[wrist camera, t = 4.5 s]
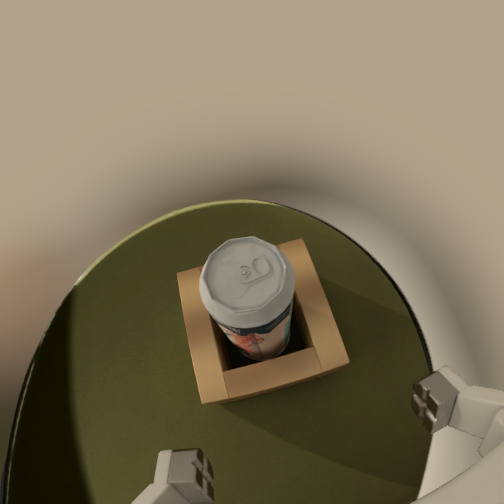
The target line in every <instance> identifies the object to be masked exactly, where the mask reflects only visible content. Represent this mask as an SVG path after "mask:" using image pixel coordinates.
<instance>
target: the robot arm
mask: <svg viewBox="0 0 504 504" xmlns="http://www.w3.org/2000/svg"><path fill="white" fill-rule="evenodd" d="M413 390H414V391H415V393H414V394H413V396H412V400H411V404H412V408H413V411H414V413H415V414H416V415H417V417H419V418H423V419H424V420H423V425H424V426H425V427H426V429H427V430H428V431H429V433H430V434H433V433H435V432H437V431H438V430H440V429H442V428H443V427H445V426H447V425H448V426H450V427H453V428H455V429H458V430H460V431H463V432H466V433H468V434H471V435H473V436H476V437H479V438H482V439H483V441H482V443H481V445H480V447H479V449H478V452H479V454H480V455H481V456H482V459H481V460H479V461H478V462H476V463H475V464H474V465H473V466H471V467H470V468H468V469H467V470H465V471H464V472H463V473H461V474H459V475H458V476H456V477H455V478H453V479H452V480H450V481H449V482H447V483H446V484H444V485H442V486H441V487H439V488H437V489H436V490H434V491H432V492H430V493H429V494H427V495H425V496H423V497H422V498H420V499H418V500H416V501H414V502H412V503H410V504H504V391H503V390H497V389H491V388H487V387H482V386H477V385H472V386H469V385H468V384H467V383H466V382H465V381H464V380H463V379H462V378H461V377H460V376H459V375H458V374H456V373H455V372H454V371H453V370H452V369H451V368H450V367H449V366H444V367H442V368H440V369H438V370H437V371H434V372H432V373H431V374H429V375H427V376H425V377H423V378H421V379H420V380H418V381H416V382H415V383H414V384H413ZM213 480H214V476H213V469H212V466H211V463H210V461H209V460H208V459H207V458H205V457H203V451H202V450H201V449H200V448H192V449H179V450H164V451H160V453H159V455H158V460H157V466H156V472H155V479H154V484H150V485H149V486H148V487H147V488H146V489H145V490H144V491H143V492H142V493H141V494H140V495H139V496H138V497H137V498H136V499H135V500H134V501H133V502H132V503H131V504H204V503H213V502H214V489H213V487H212V486H211V485H210V484H211V482H212V481H213Z"/></svg>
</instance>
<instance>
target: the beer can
mask: <svg viewBox="0 0 504 504" xmlns="http://www.w3.org/2000/svg"><path fill="white" fill-rule="evenodd" d="M294 289H295V273H294V269H293V267H292V265H291V262H290V261H289V259H288V258H287V257H286V255H285V254H284V253H283V252H282V251H281V250H280V249H279V248H277V247H276V246H274V245H272V244H270V243H267V242H265V241H263V240H261V239H258V238H256V237H254V236H250V237H243V238H236V239H229V240H227V241H226V242H225V243H223V244H222V245H221V246H220V247H218V248H217V249H216V250H215V251H214V252H212V253H211V254H210V255H209V257H208V260H207V261H206V263H205V265H204V267H203V270H202V273H201V276H200V280H199V291H200V295H201V299H202V301H203V303H204V305H205V307H206V309H207V310H208V312H209V313H210V314H211V316H212V317H213V318H214V320H215V321H216V322H217V324H218V325H219V326H220V328H221V329H222V330H223V331H224V333H225V334H226V335H227V337H228V338H229V339H230V340H231V342H232V343H233V344H234V346H235V347H236V348H237V349H238V351H239V352H240V353H242V354H243V355H244V356H246V357H248V358H250V359H253V360H259V361H263V360H269V359H272V358H274V357H276V356H278V355H279V354H280V353H281V352H282V351H283V350H284V349H285V348H286V346H287V345H288V342H289V338H290V326H291V315H292V304H293V293H294Z"/></svg>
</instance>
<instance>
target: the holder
mask: <svg viewBox="0 0 504 504" xmlns="http://www.w3.org/2000/svg"><path fill="white" fill-rule="evenodd" d="M276 247H277V248H279V249H280V250H281V251H282V252H283V253H284V254H285V255H286V257H287V258H288V259H289V261H290V262H291V265H292V267H293V269H294V273H295V289H294V293H293V304H292V310H293V313H294V316H295V319H296V322H297V325H298V328H299V331H300V334H301V337H302V340H303V343H304V346H305V349H303V350H300V351H297V352H294V353H290V354H287V355H284V356H280V357H277V358H274V359H270V360H266V361H263V362H259V363H256V364H252V365H248V366H244V367H240V368H236V369H232V366H231V362H230V358H229V354H228V350H227V346H226V342H225V337H224V333H223V330H222V329H221V328H220V326H219V325H218V324H217V322H216V321H215V320H214V318H213V317H212V316H211V314H210V313H209V312H208V310H207V309H206V307H205V305H204V303H203V301H202V299H201V295H200V291H199V280H200V276H201V273H202V270H203V267H204V266H201V267H197V268H194V269H190V270H187V271H183V272H179V273H177V278H178V284H179V290H180V297H181V303H182V309H183V314H184V320H185V326H186V331H187V336H188V341H189V347H190V352H191V356H192V361H193V366H194V371H195V375H196V380H197V384H198V389H199V393H200V397H201V401H202V404H218V405H219V404H224V403H228V402H233V401H237V400H242V399H246V398H250V397H254V396H258V395H262V394H265V393H269V392H273V391H276V390H280V389H283V388H287V387H290V386H294V385H297V384H300V383H303V382H306V381H309V380H313V379H315V378H319V377H321V376H324V375H327V374H330V373H333V372H336V371H338V370H339V369H341V368H342V367H344V366H345V365H347V364H348V363H350V361H349V358H348V355H347V352H346V350H345V347H344V344H343V341H342V338H341V336H340V333H339V330H338V328H337V325H336V322H335V319H334V317H333V314H332V311H331V309H330V306H329V303H328V301H327V298H326V296H325V293H324V291H323V288H322V285H321V283H320V280H319V278H318V275H317V273H316V270H315V268H314V265H313V263H312V260H311V258H310V255H309V253H308V251H307V248H306V246H305V243H304V241H303V239H302V238H301V239H297V240H294V241H290V242H286V243H283V244H279V245H276Z"/></svg>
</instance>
